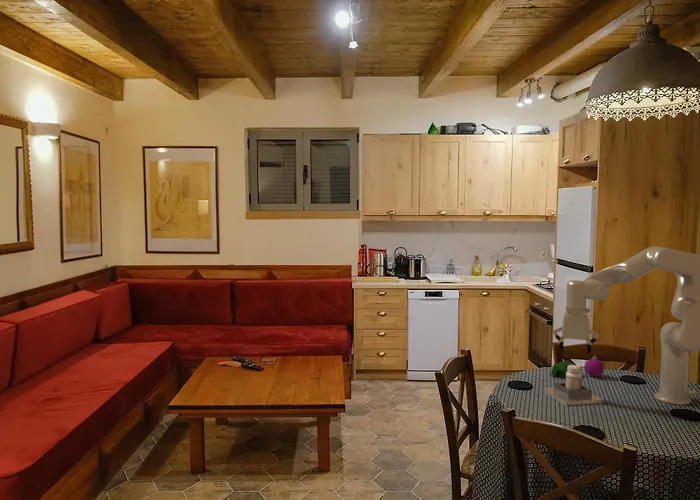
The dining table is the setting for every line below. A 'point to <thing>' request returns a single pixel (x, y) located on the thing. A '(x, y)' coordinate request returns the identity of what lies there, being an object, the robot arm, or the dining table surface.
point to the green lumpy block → (560, 369)
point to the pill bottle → (573, 378)
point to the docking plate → (572, 395)
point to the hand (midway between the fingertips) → (575, 352)
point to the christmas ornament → (594, 367)
